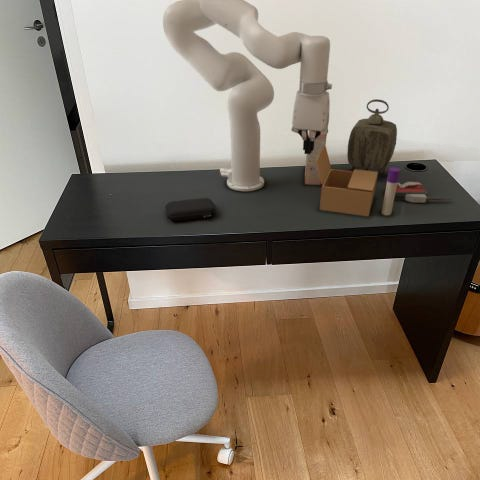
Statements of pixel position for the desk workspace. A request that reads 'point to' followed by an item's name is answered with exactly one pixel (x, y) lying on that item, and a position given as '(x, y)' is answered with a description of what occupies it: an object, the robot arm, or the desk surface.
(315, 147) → the cracker box
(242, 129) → the robot arm
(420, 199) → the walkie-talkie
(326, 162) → the flap
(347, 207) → the carton
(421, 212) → the desk surface
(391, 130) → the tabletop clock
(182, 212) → the carrying case
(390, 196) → the marker
